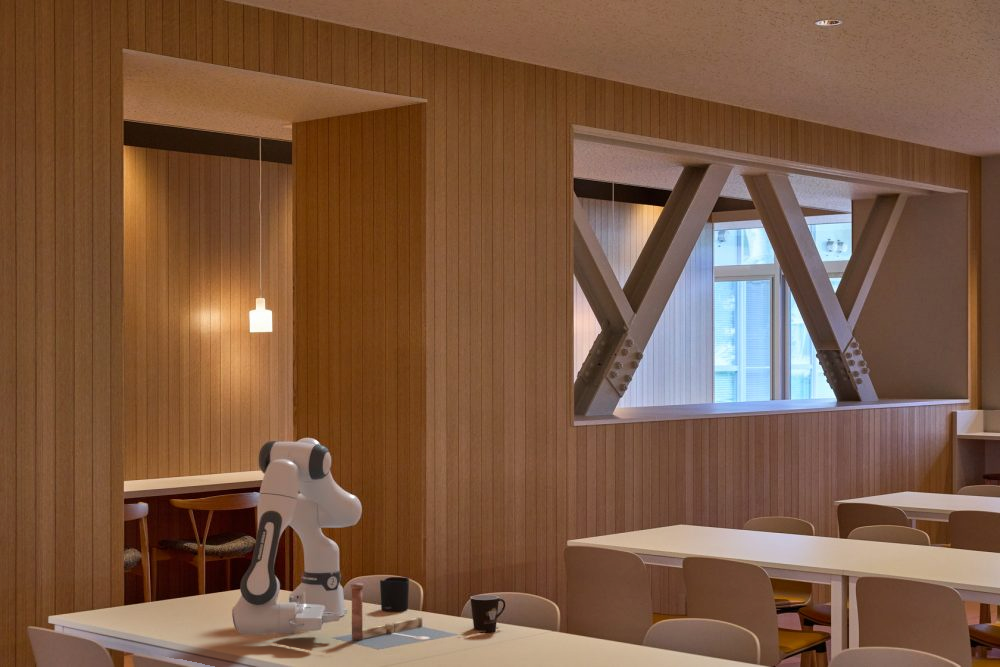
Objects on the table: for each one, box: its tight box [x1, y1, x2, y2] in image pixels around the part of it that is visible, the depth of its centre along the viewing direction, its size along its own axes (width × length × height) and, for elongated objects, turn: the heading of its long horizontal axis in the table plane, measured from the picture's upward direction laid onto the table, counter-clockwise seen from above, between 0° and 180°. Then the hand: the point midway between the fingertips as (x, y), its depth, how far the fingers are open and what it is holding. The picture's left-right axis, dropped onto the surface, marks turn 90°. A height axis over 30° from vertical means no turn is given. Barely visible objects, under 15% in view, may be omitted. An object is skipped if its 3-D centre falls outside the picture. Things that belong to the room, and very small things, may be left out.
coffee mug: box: [469, 594, 506, 634], centre depth 372 cm, size 12×9×10 cm
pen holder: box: [379, 576, 410, 613], centre depth 408 cm, size 9×9×10 cm
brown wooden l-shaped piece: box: [350, 582, 386, 640], centre depth 359 cm, size 13×4×16 cm, turn 140°
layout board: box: [333, 626, 459, 650], centre depth 361 cm, size 22×29×1 cm
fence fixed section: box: [384, 617, 423, 634], centre depth 370 cm, size 15×3×2 cm, turn 140°
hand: (339, 617), depth 355 cm, fingers closed
